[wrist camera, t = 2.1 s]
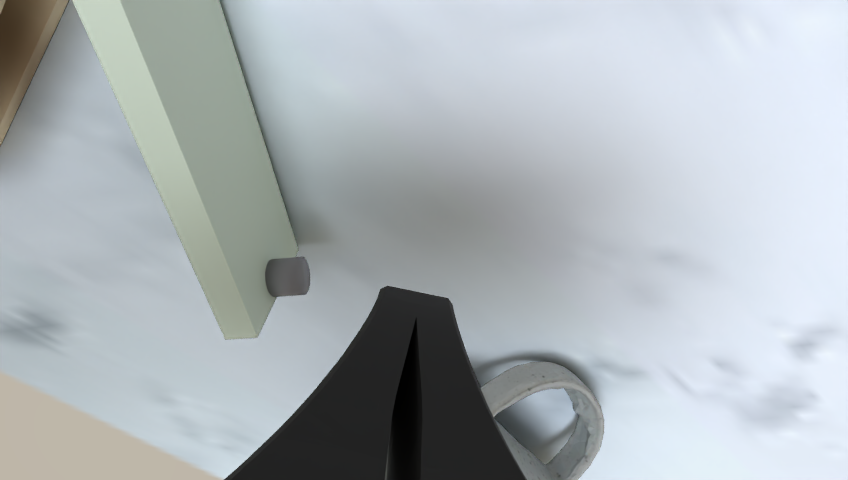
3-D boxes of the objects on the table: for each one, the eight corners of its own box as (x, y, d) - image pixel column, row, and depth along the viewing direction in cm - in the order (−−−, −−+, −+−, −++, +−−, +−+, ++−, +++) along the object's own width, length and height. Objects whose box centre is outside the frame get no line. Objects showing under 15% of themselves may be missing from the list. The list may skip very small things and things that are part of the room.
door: (325, 248, 19) (290, 335, 15) (272, 252, 20) (225, 339, 16) (229, -86, 14) (139, -81, 10) (158, -74, 14) (43, -64, 10)
